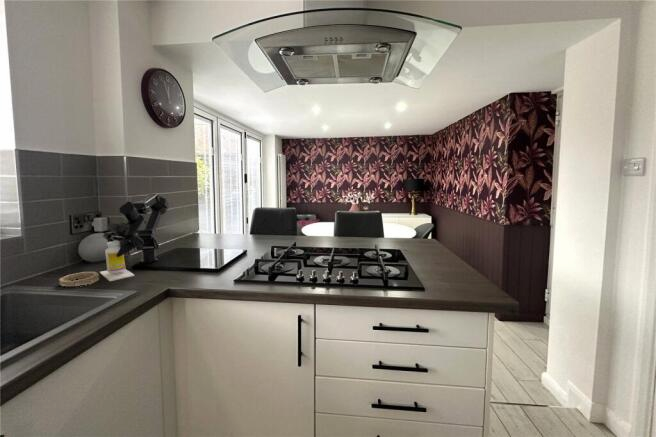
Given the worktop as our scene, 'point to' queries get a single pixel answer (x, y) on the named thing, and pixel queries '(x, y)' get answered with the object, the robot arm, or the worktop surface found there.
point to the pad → (116, 275)
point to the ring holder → (89, 278)
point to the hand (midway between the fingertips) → (111, 256)
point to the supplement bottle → (114, 258)
